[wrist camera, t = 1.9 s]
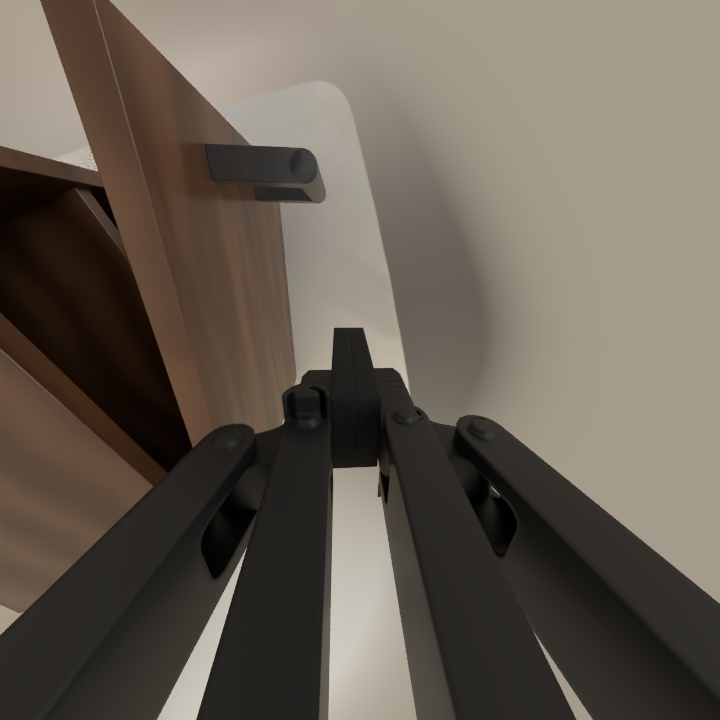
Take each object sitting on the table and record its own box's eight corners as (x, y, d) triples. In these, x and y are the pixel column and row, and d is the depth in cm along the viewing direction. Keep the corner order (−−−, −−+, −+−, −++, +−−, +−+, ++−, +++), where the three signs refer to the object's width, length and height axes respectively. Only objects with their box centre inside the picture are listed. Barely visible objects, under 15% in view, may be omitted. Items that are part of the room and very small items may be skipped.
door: (328, 173, 29) (297, -5, 8) (333, 376, 41) (327, 536, 19) (262, 170, 29) (28, -29, 7) (286, 377, 40) (224, 543, 19)
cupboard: (174, 191, 29) (-324, 59, 7) (285, 379, 40) (222, 548, 19) (43, 253, 31) (-682, 297, 9) (185, 416, 42) (19, 613, 20)
